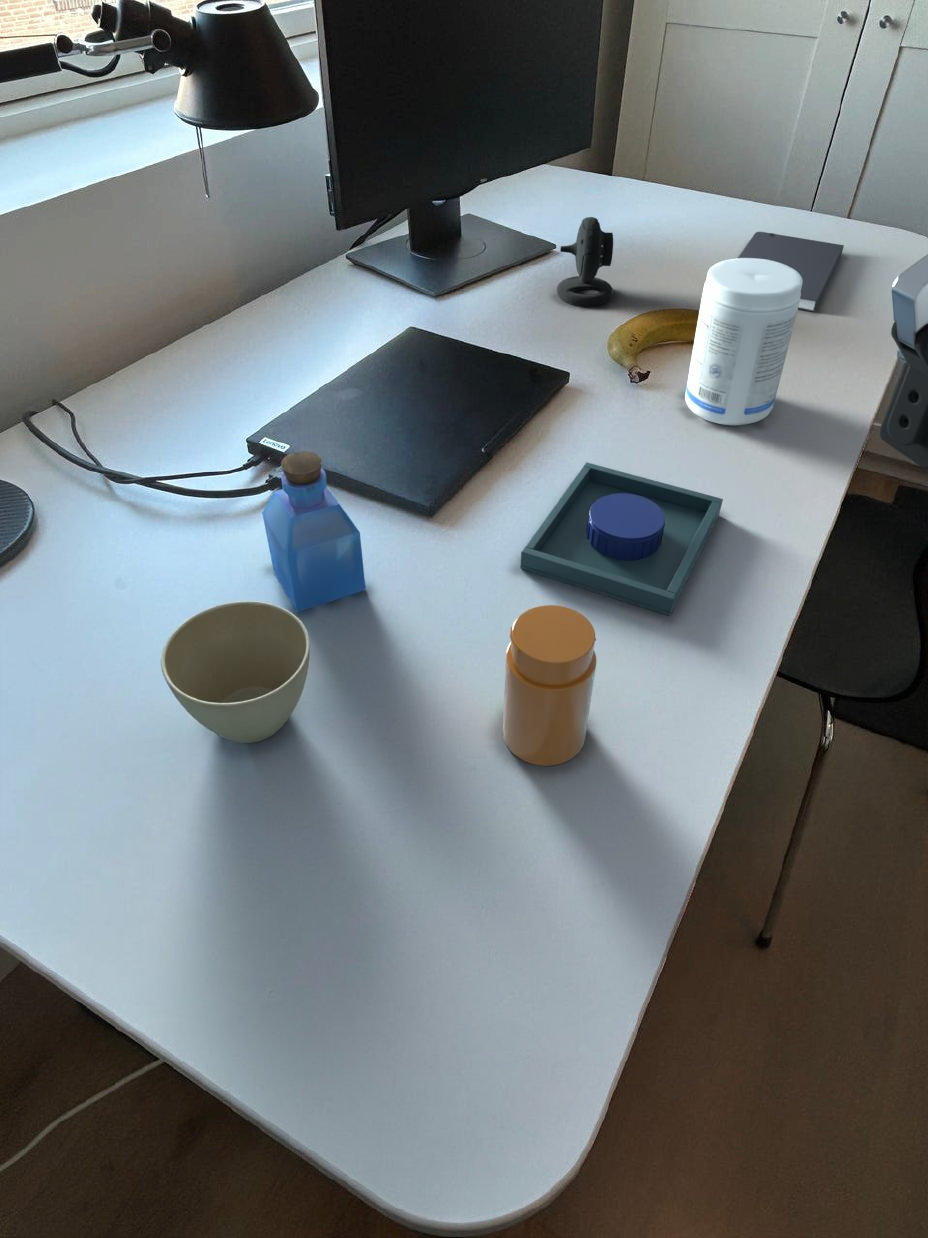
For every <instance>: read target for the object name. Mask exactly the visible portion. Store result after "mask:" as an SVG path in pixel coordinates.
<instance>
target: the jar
mask: <svg viewBox="0 0 928 1238" xmlns="http://www.w3.org/2000/svg"><path fill="white" fill-rule="evenodd" d="M509 639H510V643H509V644H508V647H507V649H506V652H505V653H506V654H505V671H504V673H505V674H504V693H503V717H502V737H503V740H504V743H505V745H506V747H507V748H508V750H509V751H510V752H511V753H512V754H513V755H515V756H516V757H517V758H519V759H520V760H522V761H524V762H526V763H529V764H531V765H536V766H543V767H544V766H545V767H550V766H557V765H562V764H564V763H566V762H569V761H570V760H571V759H574V757H576V756H577V755H578V754H579V753H580V752H581V750H582V749H583V747H584V745H585V741H586V736H587V729H588V723H589V715H590V709H591V702H592V696H593V688H594V682H595V676H596V669H597V654H596V652H595V644H596V642H597V638H596V632H595V629H594V626H593V624H592V623H591V621H590V620H589V619H588V618H587V617H586V616H584V614H582V613H581V612H579V611H577V610H575V609H573V608H570V607H567V606H562V605H555V604H549V605H547V604H546V605H540V606H535V607H532V608H530V609H528V610H526V611H524V612H523V613H521V614H520V615H519V616H518V617H517V618H516V619H515V620H514V621H513V623H512V625H511V627H510V631H509Z"/></svg>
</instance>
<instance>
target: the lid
mask: <svg viewBox="0 0 928 1238" xmlns="http://www.w3.org/2000/svg"><path fill="white" fill-rule="evenodd" d="M664 522H665V516H664V513H663V511H662V510H661V508H660V507H659V506H658V505H657V504H655V503H654V502H653V501H651V500H649V499H647V498H644V497H642V496H638V495H634V494H624V493H621V494H612V495H607V496H604V497H602V498H600V499H598V500H597V501H596V502H595V503H594V504H593V505H592V506H591V508H590V513H589V517H588V522H587V530H586V533H587V539H588V541H589V543H590V544H591V546H592V547H593V548H594V549H595V550H597V551H598V552H600V553H601V554H603V555H605V556H608V557H611V558H614V559H619V560H638V559H642V558H645V557H648V556H650V555H652V554H653V553H654V552H655V551H657V549H658V548H659V546H660V545H661V541H662V536H663V531H664V526H665V523H664Z"/></svg>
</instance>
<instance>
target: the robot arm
mask: <svg viewBox="0 0 928 1238" xmlns="http://www.w3.org/2000/svg"><path fill="white" fill-rule="evenodd" d="M891 301H892V313H893V323H892V326H891V328H890V329H891V330H890V334H891V337H892V339H893V340H894V342H895V344H896V346H897V348H898V349H897V353H896V355H897V359H899V360H900V361H902V362H903V366H902V368H901V371H900V374H899V376H898V379H897V381H896V384H895V386H894V389H893V392H892V395H891V398H890V400H889V403H888V405H887V409H886V411H885V413H884V417H883V419H882V422H881V424H880V427H879V430H878V433H879V438H880V440H882V441H883V442H884V443H886V444H887V445H889V446H890V447H892V448H893V449H895V450H896V451H897V452H899V453H900V454H902V455H903V456H905V457H906V458H908V459H909V460H911V462H913V463H915V464H916V465H918V466H919V467H921V468H922V469H924V470H928V254H925V256H923V257H921V258H920V259H918V261H916V262H915V263H913V264H911V265H910V266H909V267H908V268H907V269H905V270H903V271H902V272H900V274H899V275H898V276H897V277H896V278H895V279H894V281H893V284H892V286H891Z"/></svg>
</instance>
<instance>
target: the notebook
mask: <svg viewBox="0 0 928 1238" xmlns="http://www.w3.org/2000/svg"><path fill="white" fill-rule="evenodd" d="M844 247H845V245H844V244H840V243H839V244H838V243H832V242H827V241H821V240H814V239H809V238H801V237H796V236H789V235H783V234H778V233H774V232H773V233H772V232H765V231H756V232H754V234H753V235H752V237H751V238H750V240H749V241H748V242H747V244H746V245H745V247H744V248H743V250H742V251H741V252H740V254H739V255H738V257H737V258H757V259H765V260H770V261H775V262H778V263H781V264H784V265H787V266H789V267H791V268H793V269H794V270H796V271H797V272H798V273H799V274H800V275H801V277H802V281H803V282H802V287H801V297H800V302H799V306H798V310H802V311H807V312H811V313H814V312H815V310H816V309H817V307H818V304H819V302H820V301H821V298H822V296H823V294H824V292H825V290H826V288H827V286H828V283H829V281H830V279H831V278H832V275H833V273H834V271H835V270H836V267H837V265H838V263H839V261H840V259H841V257H842V254H843V251H844Z"/></svg>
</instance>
